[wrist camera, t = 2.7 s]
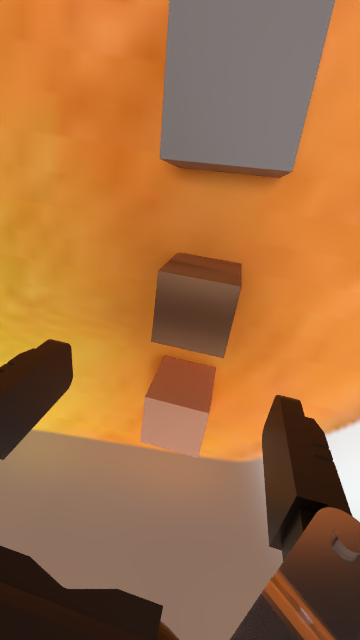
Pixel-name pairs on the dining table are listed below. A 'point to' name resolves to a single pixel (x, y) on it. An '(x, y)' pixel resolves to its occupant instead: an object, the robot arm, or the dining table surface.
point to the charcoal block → (240, 82)
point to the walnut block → (196, 303)
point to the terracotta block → (178, 406)
